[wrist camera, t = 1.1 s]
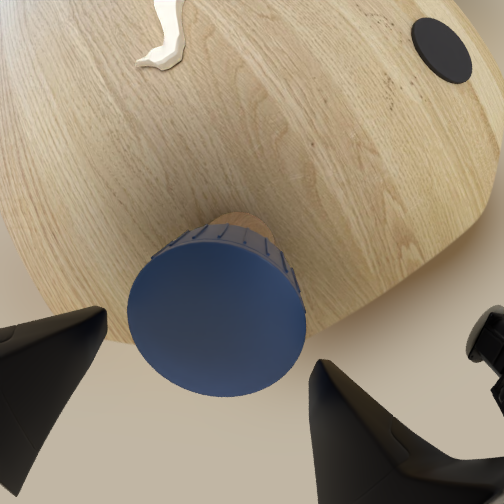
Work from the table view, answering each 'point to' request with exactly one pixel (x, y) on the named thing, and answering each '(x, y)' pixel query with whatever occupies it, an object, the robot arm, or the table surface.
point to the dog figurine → (167, 36)
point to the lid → (218, 312)
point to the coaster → (442, 50)
